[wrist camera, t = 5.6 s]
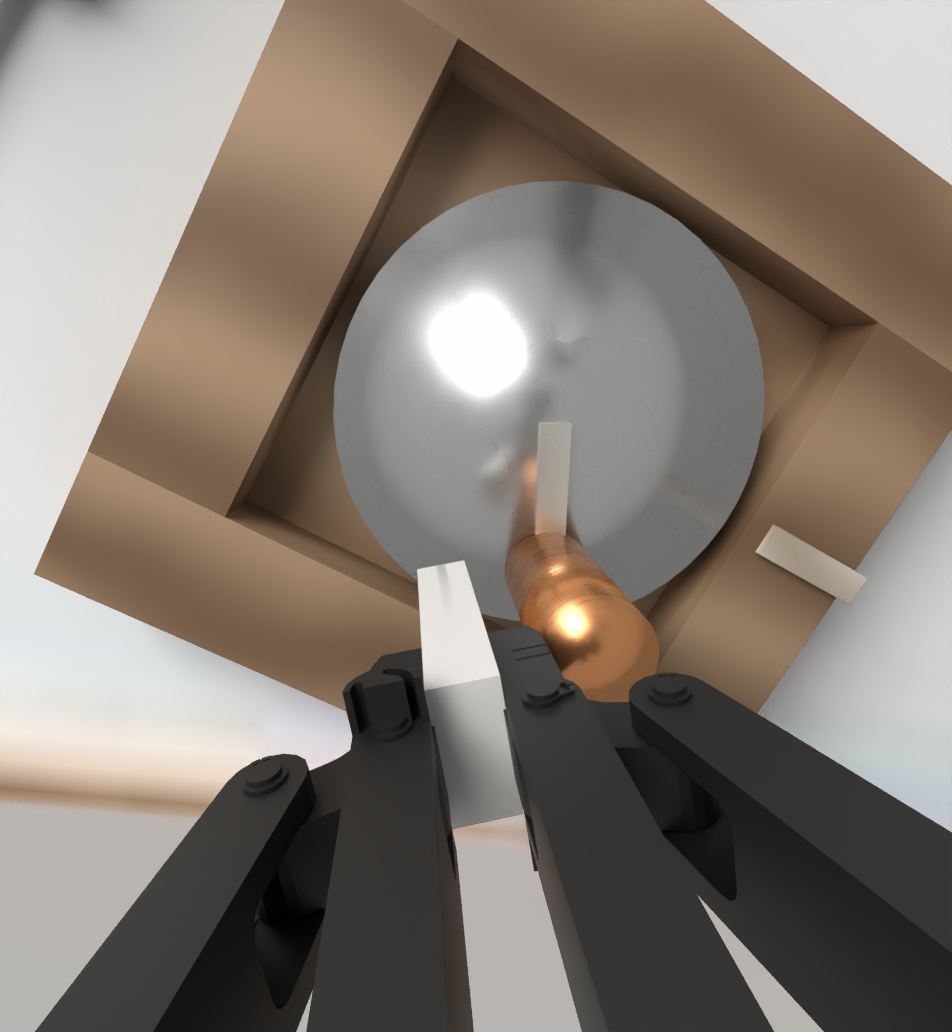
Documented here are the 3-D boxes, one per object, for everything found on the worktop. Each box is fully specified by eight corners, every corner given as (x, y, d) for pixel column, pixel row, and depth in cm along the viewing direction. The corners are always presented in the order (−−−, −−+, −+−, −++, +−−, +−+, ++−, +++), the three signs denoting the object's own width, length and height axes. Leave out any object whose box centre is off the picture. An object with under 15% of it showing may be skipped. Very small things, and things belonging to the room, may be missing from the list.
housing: (395, -104, 19) (388, -249, 14) (951, 289, 23) (1079, 272, 18) (105, 535, 22) (27, 577, 18) (631, 776, 26) (673, 859, 22)
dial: (336, 189, 18) (275, 62, 11) (754, 209, 20) (975, 107, 12) (346, 601, 21) (304, 736, 14) (710, 598, 22) (864, 722, 15)
